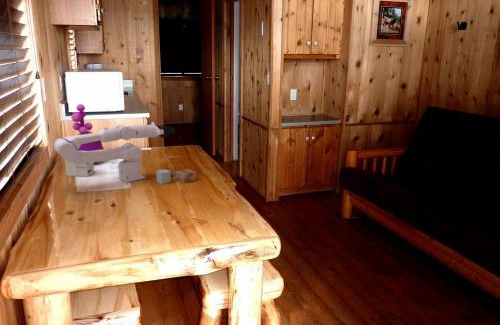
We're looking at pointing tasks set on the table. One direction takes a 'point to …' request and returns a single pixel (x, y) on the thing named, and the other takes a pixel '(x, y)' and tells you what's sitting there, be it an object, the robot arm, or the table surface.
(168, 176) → the gray block
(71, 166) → the light bulb box
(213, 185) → the table surface
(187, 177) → the walnut block
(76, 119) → the decorative plant
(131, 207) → the table surface
